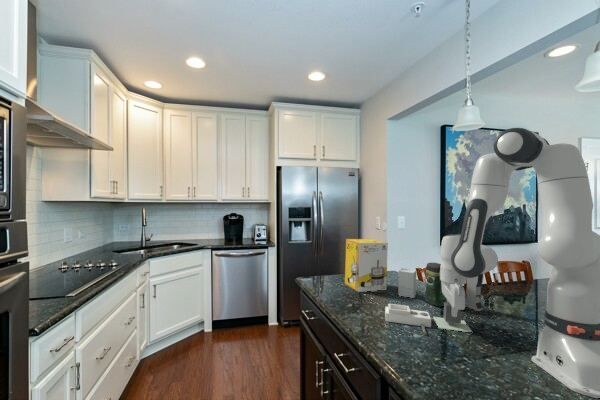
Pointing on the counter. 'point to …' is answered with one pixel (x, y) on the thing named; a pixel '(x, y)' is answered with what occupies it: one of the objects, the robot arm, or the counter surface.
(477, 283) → the vintage mobile phone
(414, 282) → the supplement box
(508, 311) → the counter surface
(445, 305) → the block
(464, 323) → the mat
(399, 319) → the power strip
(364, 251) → the packaging box
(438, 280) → the coffee jar
